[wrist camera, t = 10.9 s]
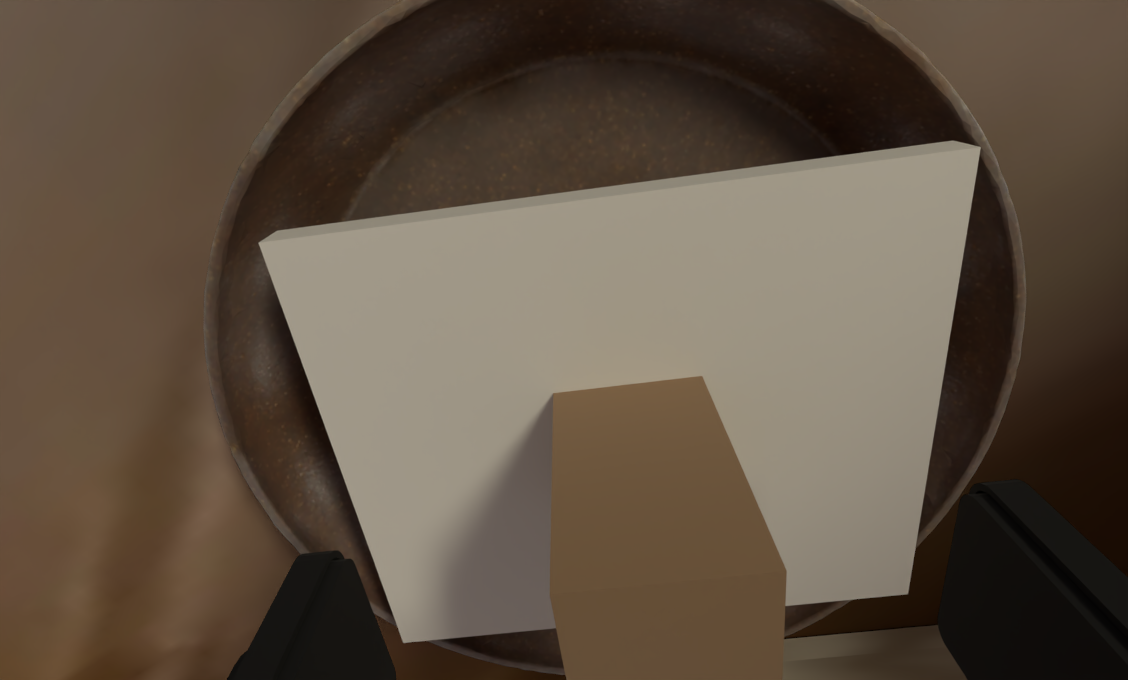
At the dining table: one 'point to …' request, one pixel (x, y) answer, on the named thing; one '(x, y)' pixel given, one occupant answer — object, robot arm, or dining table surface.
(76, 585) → the dining table surface
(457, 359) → the lid
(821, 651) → the box
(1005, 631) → the robot arm
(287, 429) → the plant saucer
